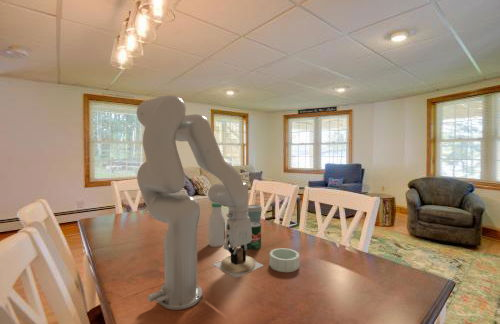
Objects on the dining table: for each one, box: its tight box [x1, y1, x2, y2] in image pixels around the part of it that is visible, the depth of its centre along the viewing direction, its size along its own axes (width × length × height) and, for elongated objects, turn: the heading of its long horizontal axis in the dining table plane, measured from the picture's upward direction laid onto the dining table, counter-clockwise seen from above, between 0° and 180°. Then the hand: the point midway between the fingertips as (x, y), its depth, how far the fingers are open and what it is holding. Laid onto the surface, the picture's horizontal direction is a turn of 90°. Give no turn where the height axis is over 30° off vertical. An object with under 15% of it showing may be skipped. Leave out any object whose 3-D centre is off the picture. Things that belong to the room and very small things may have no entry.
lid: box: [220, 247, 256, 273], centre depth 97 cm, size 13×13×6 cm
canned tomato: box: [247, 222, 262, 251], centre depth 116 cm, size 8×8×11 cm
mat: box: [212, 260, 265, 279], centre depth 98 cm, size 14×14×1 cm
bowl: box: [269, 247, 300, 273], centre depth 97 cm, size 11×11×5 cm
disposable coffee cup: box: [248, 204, 263, 223], centre depth 137 cm, size 11×11×15 cm
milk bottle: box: [208, 202, 226, 248], centre depth 119 cm, size 8×8×20 cm
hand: (238, 261), depth 97 cm, fingers closed on lid, 3 cm apart
